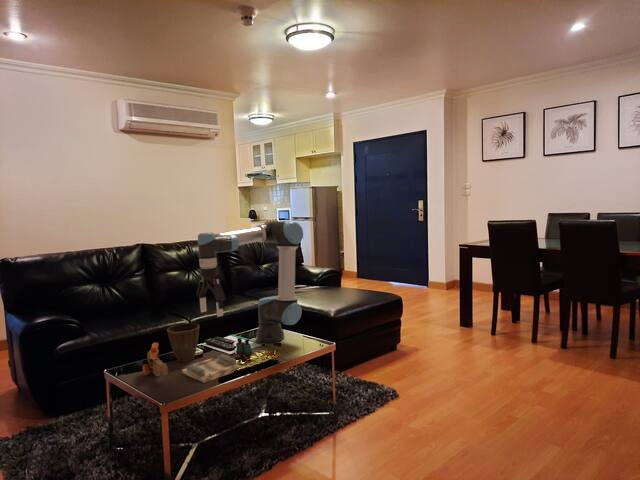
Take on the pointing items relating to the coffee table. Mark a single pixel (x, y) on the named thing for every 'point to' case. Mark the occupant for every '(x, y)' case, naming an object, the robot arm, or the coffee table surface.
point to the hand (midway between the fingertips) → (211, 313)
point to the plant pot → (184, 340)
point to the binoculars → (242, 350)
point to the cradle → (211, 368)
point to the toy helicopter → (154, 363)
